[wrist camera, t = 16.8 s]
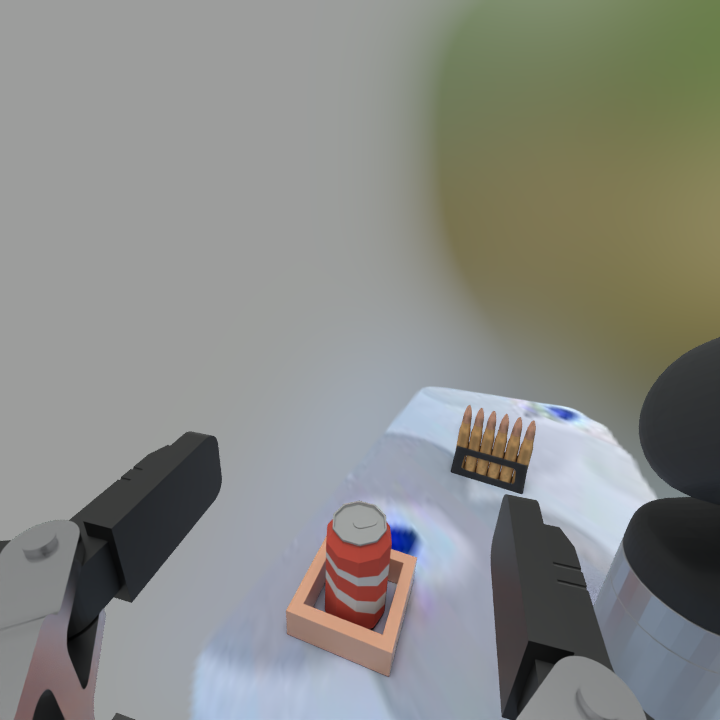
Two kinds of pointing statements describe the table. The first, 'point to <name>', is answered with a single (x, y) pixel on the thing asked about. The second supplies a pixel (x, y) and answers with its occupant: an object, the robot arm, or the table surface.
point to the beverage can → (357, 563)
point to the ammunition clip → (493, 452)
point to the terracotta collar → (344, 634)
